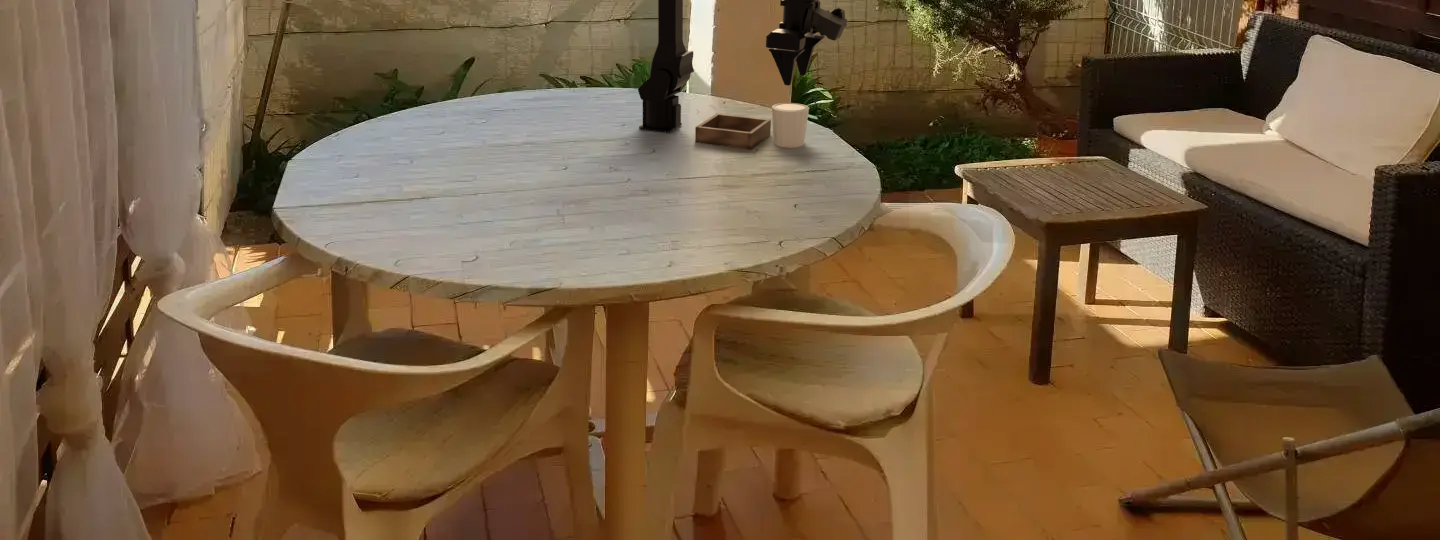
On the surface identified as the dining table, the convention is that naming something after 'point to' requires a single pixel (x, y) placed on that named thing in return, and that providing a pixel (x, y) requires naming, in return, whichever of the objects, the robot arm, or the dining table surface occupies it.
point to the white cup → (789, 124)
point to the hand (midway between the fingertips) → (795, 80)
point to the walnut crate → (733, 131)
